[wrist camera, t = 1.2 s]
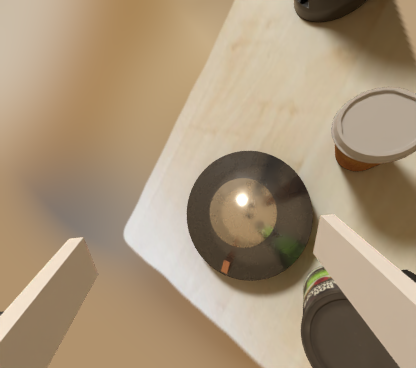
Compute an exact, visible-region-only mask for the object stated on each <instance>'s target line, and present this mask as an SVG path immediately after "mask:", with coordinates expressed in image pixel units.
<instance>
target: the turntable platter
mask: <svg viewBox="0 0 416 368" xmlns="http://www.w3.org/2000/svg"><path fill="white" fill-rule="evenodd" d="M312 215H313V213H312V205H311V201H310V197H309V194H308V191H307V189H306V187H305V185H304V183H303V182H302V180H301V178H300V177H299V176H298V175H297V173H296V172H295V171H294V170H293V169H292V168H291V167H290V166H289V165H287V164H286V163H285V162H283V161H282V160H280V159H278V158H276V157H274V156H272V155H269V154H266V153H262V152H257V151H240V152H235V153H231V154H228V155H226V156H223V157H221V158H219V159H218V160H216V161H214V162H213V163H212V164H210V165H209V166H208V167H207V168H206V169H205V170H204V171H203V172H202V173H201V175H200V176H199V177H198V179H197V180H196V182H195V184H194V186H193V188H192V190H191V193H190V196H189V200H188V205H187V224H188V229H189V233H190V236H191V239H192V242H193V244H194V246H195V248H196V249H197V251H198V252H199V254H200V255H201V256H202V258H203V259H204V260H205V261H206V262H207V263H208V264H209V265H210V266H212V267H213V268H214V269H216V270H217V271H219V272H221V273H222V274H224V275H227V276H229V277H232V278H236V279H240V280H249V281H250V280H261V279H266V278H269V277H272V276H275V275H277V274H279V273H281V272H283V271H284V270H285V269H287V268H288V267H289V266H291V265H292V264H293V263H294V262H295V261H296V260H297V259H298V257H299V256H300V255H301V253H302V252H303V250H304V248H305V246H306V244H307V242H308V240H309V236H310V233H311V228H312Z"/></svg>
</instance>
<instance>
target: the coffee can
mask: <svg viewBox="0 0 416 368" xmlns="http://www.w3.org/2000/svg"><path fill="white" fill-rule="evenodd" d="M303 295H304V300H303V318H302V323H301V338H302V344H303V347H304V351H305V353H306V356H307V358H308V360H309V362H310V364H311V366H312V368H400V367H399V366H398V364H397V363H396V362H395V360H394V359H393V358H392V356H391V355H390V354H389V353H388V351H387V350H386V349H385V347H384V346H383V345H382V343H381V342H380V341H379V339H378V338H377V337H376V335H375V334H374V333H373V331H372V330H371V329H370V327H369V326H368V325H367V324H366V322H365V321H364V320H363V318H362V317H361V316H360V314H359V313H358V312H357V310H356V309H355V308H354V306H353V305H352V304H351V302H350V301H349V300H348V298H347V297H346V296H345V295H344V293H343V292H342V291H341V289H340V288H339V287H338V285H337V284H336V283H335V281H334V280H333V279H332V277H331V276H330V275H329V273H328V272H327V271H326V269H325V268H324V267H323V266H321V267H318V268H316V269H315V270H313V271H312V272H311V273H310V274H309V275H308V277H307V278H306V280H305V283H304V288H303Z"/></svg>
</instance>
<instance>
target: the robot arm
mask: <svg viewBox="0 0 416 368" xmlns="http://www.w3.org/2000/svg"><path fill="white" fill-rule="evenodd" d="M365 1H366V0H294V7H295V10H296V12H297V14H298V15H299V16H300V17H302V18H303V19H305V20H308V21H313V22H323V21H329V20H333V19H337V18H339V17H342V16H344V15H346V14H348V13H350V12H352V11H353V10H355V9H356V8H358V7H359V6H361V5H362V4H363V3H364V2H365ZM313 254H314V255H315V256H316V258H317V259H318V260H319V262H320V263H321V264H322V266H323V267H324V268H325V269H326V271H327V272H328V273H329V275H330V276H331V277H332V279H333V280H334V281H335V283H336V284H337V285H338V287H339V288H340V289H341V291H342V292H343V293H344V295H345V296H346V297H347V298H348V300H349V301H350V302H351V304H352V305H353V306H354V308H355V309H356V310H357V312H358V313H359V314H360V316H361V317H362V318H363V320H364V321H365V322H366V324H367V325H368V326H369V327H370V329H371V330H372V331H373V333H374V334H375V335H376V337H377V338H378V339H379V341H380V342H381V343H382V345H383V346H384V347H385V349H386V350H387V351H388V353H389V354H390V355H391V356H392V358H393V359H394V360H395V362H396V363H397V364H398V366H399V367H400V368H416V275H415V274H414V273H412V272H410V271H408V270H400V269H398V268H397V267H396V266H395V265H394V264H392V263H391V262H390V261H389V260H388V259H386V258H385V257H384V256H383V255H382V254H381V253H379V252H378V251H377V250H376V249H375V248H373V247H372V246H371V245H370V244H369V243H367V242H366V241H365V240H364V239H363V238H362V237H360V236H359V235H358V234H357V233H356V232H354V231H353V230H352V229H351V228H350V227H348V226H347V225H346V224H345V223H344V222H342V221H341V220H340V219H339V218H338V217H337V216H335V215H334V214H329V215H320V220H319V225H318V230H317V235H316V240H315V246H314V251H313ZM97 276H98V272H97V269H96V267H95V264H94V262H93V260H92V257H91V255H90V252H89V250H88V247H87V245H86V242H85V240H84V238H83V237H81V238H71V239H68V241H67V242H66V243H65V244H64V245H63V246H62V247H61V248H60V250H59V251H58V252H57V253H56V254H55V255H54V256H53V258H52V259H51V260H50V261H49V262H48V263H47V264H46V265H45V266H44V268H43V269H42V270H41V271H40V272H39V273H38V274H37V275H36V277H35V278H34V279H33V280H32V281H31V282H30V283H29V285H28V286H27V287H26V288H25V289H24V290H23V291H22V292H21V293H20V295H19V296H18V297H17V298H16V299H15V300H14V301H13V302H12V304H11V305H10V306H9V307H8V308H7V309H6V310H5V311H4V312H0V368H47V367H48V366H49V364H50V362H51V360H52V358H53V356H54V355H55V353H56V351H57V349H58V347H59V345H60V344H61V342H62V340H63V338H64V336H65V334H66V333H67V331H68V329H69V327H70V325H71V323H72V322H73V320H74V318H75V316H76V314H77V313H78V311H79V309H80V307H81V305H82V303H83V301H84V300H85V298H86V296H87V294H88V292H89V291H90V289H91V287H92V285H93V283H94V281H95V280H96V278H97Z"/></svg>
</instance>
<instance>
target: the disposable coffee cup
mask: <svg viewBox="0 0 416 368" xmlns="http://www.w3.org/2000/svg"><path fill="white" fill-rule="evenodd" d="M331 131H332V138H333V140H334V143H335V157H336V160H337V162H338V163H339V164H340V165H341V166H342V167H344V168H345V169H348V170H351V171H363V170H367V169H369V168H371V167H374V166H377V165H379V164H382V163H388V162H393V161H396V160H399V159H402V158H405V157H406V156H408V155H410V154H412V153H413V152H415V151H416V93H413V92H411V91H409V90H406V89H402V88H396V87H383V88H375V89H372V90H369V91H366V92H363V93H361V94H359V95H357V96H356V97H354V98H353V99H351V100H349V101H348V102H347V103H345V104H344V105H343V106H342V107H341V108H340V109H339V111H338V112H337V113H336V115H335V117H334V119H333V122H332V128H331Z"/></svg>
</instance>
